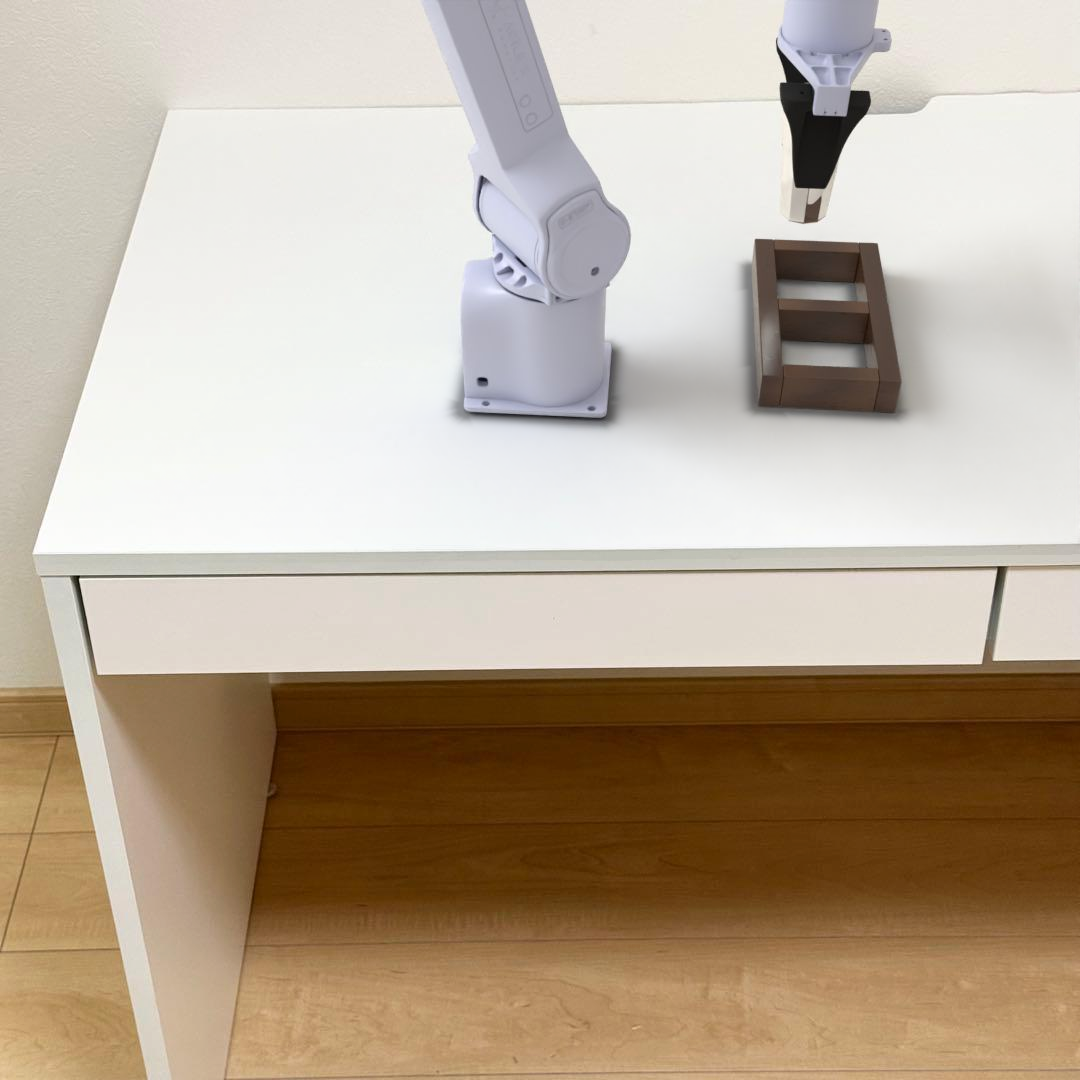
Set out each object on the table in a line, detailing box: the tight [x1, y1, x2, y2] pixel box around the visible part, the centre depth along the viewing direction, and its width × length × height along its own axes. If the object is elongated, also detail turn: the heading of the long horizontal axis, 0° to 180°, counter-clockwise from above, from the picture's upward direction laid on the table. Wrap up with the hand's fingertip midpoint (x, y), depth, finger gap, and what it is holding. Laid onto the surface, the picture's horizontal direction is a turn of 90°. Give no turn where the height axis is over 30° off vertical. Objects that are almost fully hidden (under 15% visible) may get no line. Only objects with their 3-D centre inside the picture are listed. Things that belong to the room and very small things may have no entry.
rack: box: [750, 238, 903, 414], centre depth 95 cm, size 9×17×3 cm, turn 175°
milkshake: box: [779, 109, 842, 225], centre depth 91 cm, size 4×5×10 cm
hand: (808, 165), depth 92 cm, fingers closed on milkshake, 5 cm apart
